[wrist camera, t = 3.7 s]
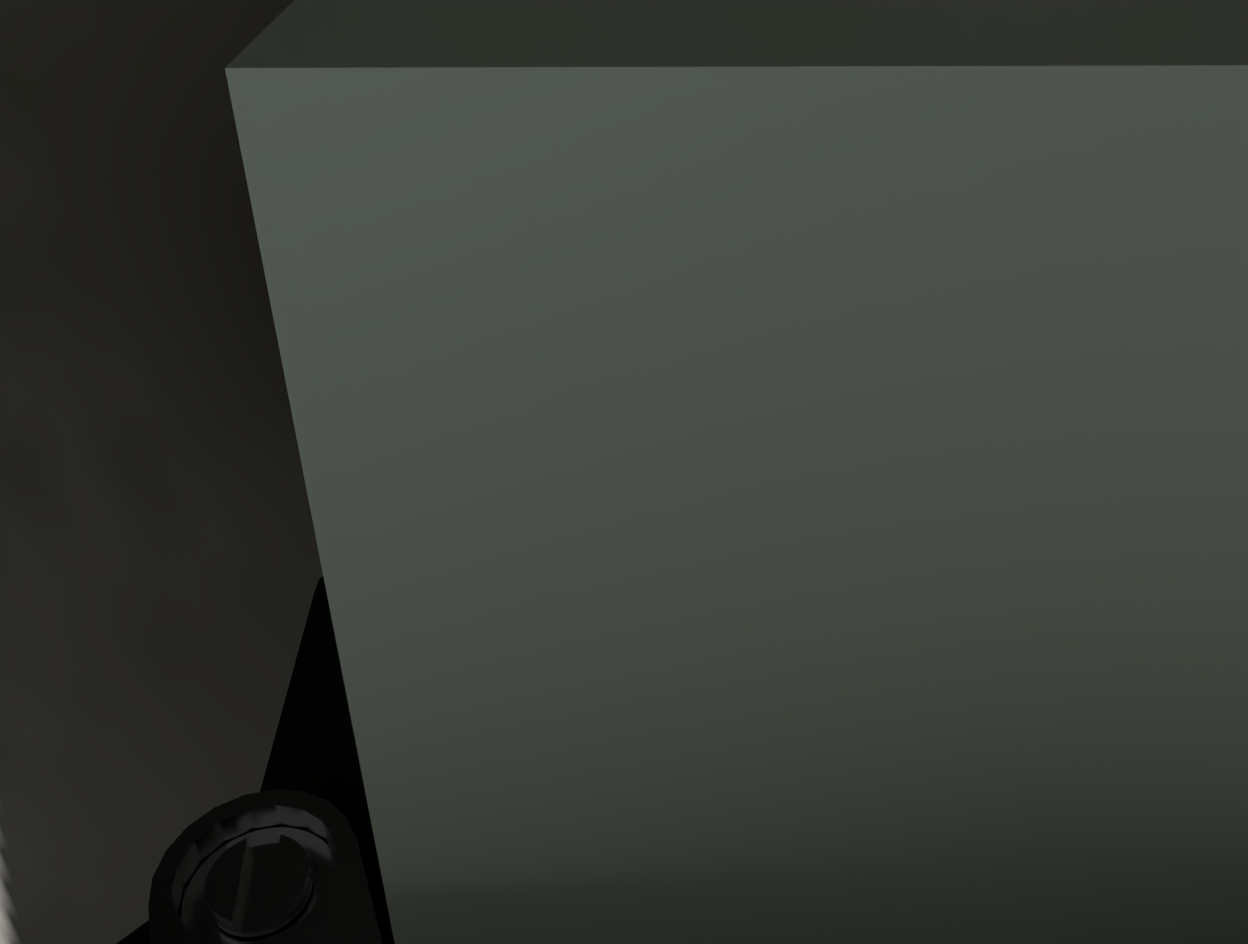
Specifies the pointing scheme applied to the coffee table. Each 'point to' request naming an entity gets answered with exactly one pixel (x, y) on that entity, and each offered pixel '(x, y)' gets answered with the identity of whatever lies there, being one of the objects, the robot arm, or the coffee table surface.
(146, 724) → the coffee table surface
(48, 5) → the coffee table surface
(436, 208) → the housing
